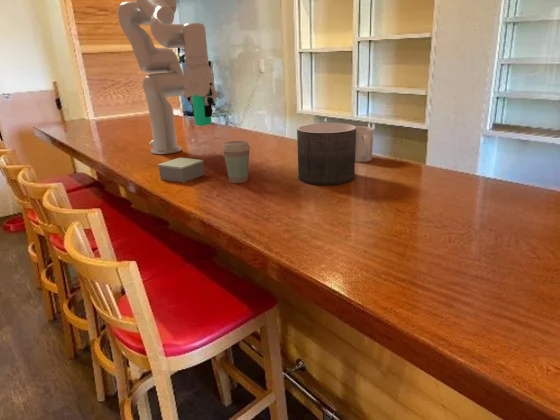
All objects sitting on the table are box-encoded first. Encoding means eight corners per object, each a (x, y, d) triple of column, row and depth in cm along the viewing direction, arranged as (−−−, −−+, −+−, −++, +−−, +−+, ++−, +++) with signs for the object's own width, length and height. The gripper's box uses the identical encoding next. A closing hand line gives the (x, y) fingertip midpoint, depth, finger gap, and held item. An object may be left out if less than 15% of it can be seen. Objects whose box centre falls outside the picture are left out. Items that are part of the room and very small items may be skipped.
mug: (376, 156, 156) (378, 126, 153) (368, 164, 146) (370, 132, 142) (349, 155, 161) (349, 125, 157) (339, 162, 151) (340, 131, 147)
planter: (317, 189, 122) (317, 135, 116) (288, 175, 137) (286, 127, 131) (366, 179, 129) (368, 128, 124) (333, 167, 144) (334, 121, 139)
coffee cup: (256, 177, 136) (253, 140, 132) (245, 185, 128) (242, 146, 124) (232, 176, 139) (229, 140, 135) (220, 183, 131) (216, 145, 127)
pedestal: (159, 179, 138) (157, 164, 137) (181, 171, 147) (180, 157, 145) (183, 182, 133) (181, 167, 132) (204, 174, 142) (203, 160, 140)
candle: (208, 125, 149) (205, 90, 144) (192, 125, 150) (188, 90, 145) (214, 122, 154) (210, 88, 150) (198, 122, 155) (195, 89, 151)
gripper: (171, 63, 146) (177, 117, 152) (210, 62, 138) (215, 118, 144) (185, 62, 152) (191, 114, 158) (223, 61, 144) (228, 115, 150)
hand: (202, 115), depth 151 cm, fingers closed on candle, 4 cm apart
